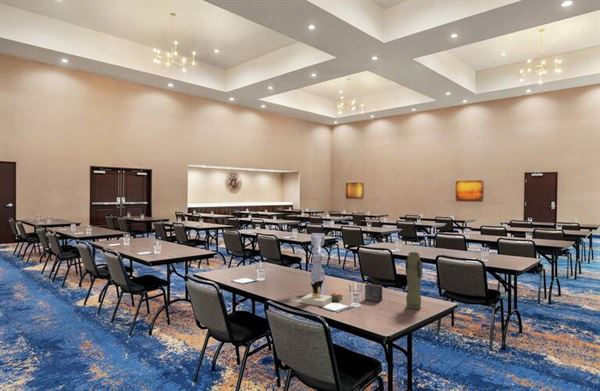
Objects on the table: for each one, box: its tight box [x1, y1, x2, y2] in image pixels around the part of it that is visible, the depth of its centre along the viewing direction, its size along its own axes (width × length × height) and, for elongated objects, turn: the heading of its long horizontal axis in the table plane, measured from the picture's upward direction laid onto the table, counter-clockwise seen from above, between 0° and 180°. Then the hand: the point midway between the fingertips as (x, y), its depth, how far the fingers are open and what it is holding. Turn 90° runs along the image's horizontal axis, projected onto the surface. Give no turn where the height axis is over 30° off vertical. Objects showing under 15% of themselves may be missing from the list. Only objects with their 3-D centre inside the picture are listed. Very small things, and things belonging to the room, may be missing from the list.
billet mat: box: [288, 296, 303, 303], centre depth 246 cm, size 9×9×1 cm
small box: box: [364, 283, 383, 303], centre depth 247 cm, size 11×6×10 cm, turn 59°
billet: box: [311, 286, 320, 297], centre depth 242 cm, size 4×4×6 cm
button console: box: [329, 293, 343, 303], centre depth 247 cm, size 7×7×3 cm
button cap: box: [332, 292, 340, 297], centre depth 247 cm, size 4×4×2 cm
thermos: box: [405, 251, 423, 310], centre depth 232 cm, size 9×12×35 cm
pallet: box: [301, 292, 333, 307], centre depth 241 cm, size 14×16×4 cm
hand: (317, 292), depth 241 cm, fingers closed on billet, 4 cm apart
